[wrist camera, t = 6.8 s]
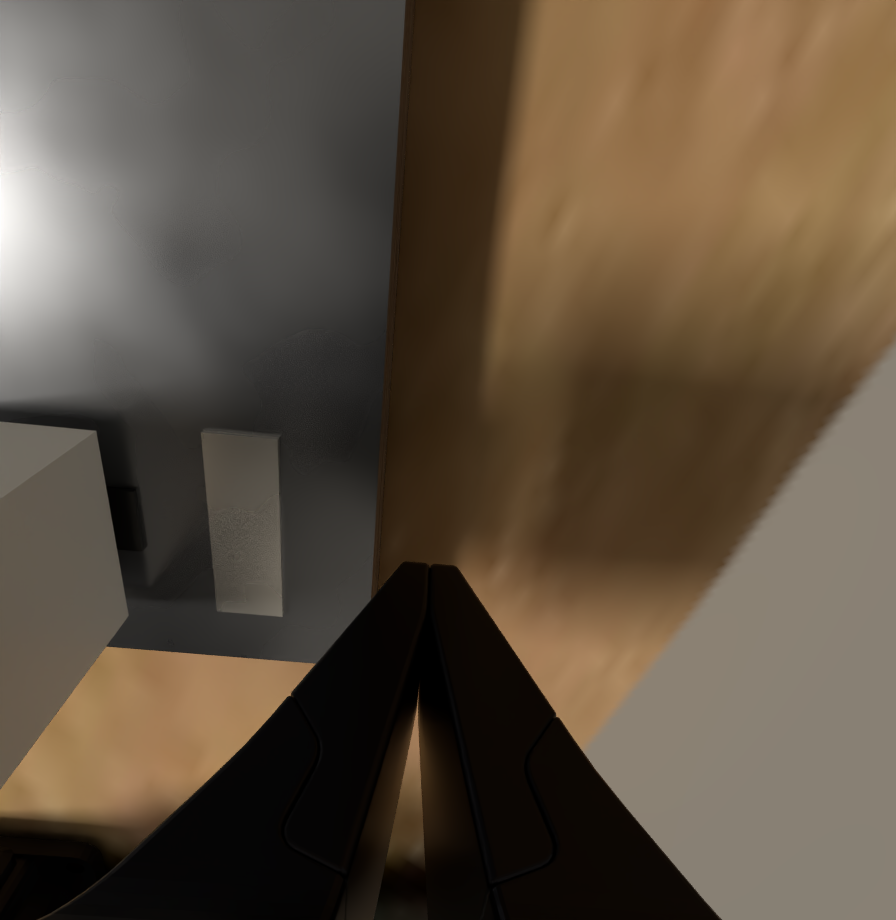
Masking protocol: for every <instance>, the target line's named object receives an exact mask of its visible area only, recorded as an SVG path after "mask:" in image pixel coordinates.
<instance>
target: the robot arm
mask: <svg viewBox="0 0 896 920" xmlns="http://www.w3.org/2000/svg"><path fill="white" fill-rule="evenodd" d="M418 692H419V697H418ZM417 701H418V727H419V747H420V767H421V788H422V808H423V828H424V848H425V868H426V889H427V909H428V920H722V919H721V918H720V917H719V916H718V915H717V914H716V913H715V912H714V911H713V910H712V908H711V907H710V906H709V905H708V904H707V903H706V902H705V901H704V900H703V898H702V897H701V896H700V895H699V894H698V892H697V891H696V890H695V889H694V888H693V887H692V885H691V884H690V883H689V882H688V881H687V879H686V878H685V877H684V876H683V875H682V874H681V873H680V871H679V870H678V869H677V868H676V866H675V865H674V864H673V863H672V862H671V861H670V859H669V858H668V857H667V856H666V854H665V853H664V852H663V851H662V850H661V849H660V847H659V846H658V845H657V844H656V843H655V841H654V840H653V839H652V838H651V837H650V835H649V834H648V833H647V832H646V831H645V830H644V828H643V827H642V826H641V825H640V824H639V823H638V821H637V820H636V819H635V818H634V817H633V815H632V814H631V813H630V812H629V811H628V809H626V807H625V806H624V805H623V803H622V802H621V801H620V800H619V798H618V797H617V796H616V795H615V793H614V792H613V791H612V790H611V788H610V787H609V786H608V785H607V783H606V782H605V781H604V780H603V778H602V777H601V776H600V775H599V773H598V772H597V771H596V770H595V769H594V767H593V765H592V764H591V763H590V761H589V760H588V758H587V757H586V756H585V754H584V753H583V751H582V750H581V749H580V747H579V746H578V744H577V743H576V742H575V740H574V739H573V737H572V736H571V735H570V733H569V732H568V730H567V729H566V727H565V726H564V724H563V723H562V721H561V720H560V718H558V717H556V713H555V711H554V710H553V708H552V707H551V705H550V704H549V702H548V701H547V699H546V698H545V696H544V695H543V693H542V692H541V690H540V689H539V687H538V686H537V684H536V683H535V681H534V680H533V679H532V677H531V676H530V674H529V673H528V671H527V670H526V668H525V667H524V665H523V664H522V662H521V661H520V659H519V658H518V656H517V655H516V653H515V652H514V650H513V649H512V647H511V646H510V644H509V643H508V642H507V640H506V639H505V637H504V636H503V634H502V633H501V631H500V630H499V628H498V627H497V625H496V624H495V622H494V621H493V619H492V618H491V616H490V615H489V613H488V612H487V610H486V609H485V607H484V606H483V605H482V603H481V602H480V600H479V599H478V597H477V596H476V594H475V593H474V591H473V590H472V588H471V587H470V585H469V584H468V582H467V581H466V579H465V578H464V576H463V575H462V573H461V572H460V570H459V569H458V568H457V567H456V566H453V565H442V564H433V565H431V567H429V565H428V564H427V563H419V562H409V561H406V562H403V563H402V564H401V565H400V566H399V567H398V569H397V570H396V571H395V572H394V573H393V575H392V576H391V577H390V578H389V579H388V580H387V582H386V583H385V584H384V585H383V586H382V587H381V589H380V590H379V591H378V592H377V593H376V594H375V596H374V597H373V598H372V599H371V600H370V601H369V603H368V604H367V605H366V606H365V607H364V608H363V610H362V611H361V612H360V613H359V614H358V615H357V617H356V618H355V619H354V620H353V621H352V622H351V624H350V625H349V626H348V627H347V628H346V629H345V631H344V632H343V633H342V634H341V635H340V636H339V638H338V639H337V640H336V641H335V642H334V643H333V645H332V646H331V647H330V648H329V649H328V650H327V652H326V653H325V654H324V655H323V656H322V657H321V659H320V660H319V661H318V662H317V663H316V664H315V666H314V667H313V668H312V669H311V670H310V671H309V673H308V674H307V675H306V676H305V677H304V678H303V680H302V681H301V682H300V683H299V684H298V685H297V687H296V688H295V689H294V690H293V691H292V693H291V696H288V697H287V698H286V699H285V700H284V701H283V703H282V704H281V705H280V706H279V707H278V709H277V710H276V711H275V712H274V713H273V714H272V716H271V717H270V718H269V719H268V720H267V721H266V722H265V723H264V724H263V725H262V727H261V728H260V729H259V730H258V731H257V732H256V733H255V734H254V735H253V736H252V737H251V739H250V740H249V741H248V742H247V743H246V744H245V745H244V746H243V747H242V748H241V749H240V750H239V751H238V752H237V753H236V754H235V755H234V756H233V757H232V758H231V759H230V760H229V761H228V762H227V763H226V764H225V765H224V766H223V767H222V768H220V769H219V770H218V771H217V772H216V773H215V774H214V775H213V776H212V777H211V778H210V779H209V780H208V781H207V782H206V783H205V784H204V785H203V786H202V787H200V788H199V789H198V790H197V791H196V792H195V793H194V794H193V795H192V796H191V797H190V798H189V799H188V800H186V801H185V802H184V803H183V804H182V805H181V806H180V807H179V808H178V809H177V810H176V811H175V812H173V813H172V814H171V815H170V816H169V817H168V818H167V819H166V820H165V821H164V822H163V823H162V824H161V825H159V826H158V827H157V828H156V829H155V830H154V831H153V832H152V833H151V834H150V835H149V836H148V837H147V838H145V839H144V840H143V841H142V842H141V843H140V844H139V845H138V846H137V847H136V848H135V849H134V850H133V851H131V852H130V853H129V854H128V855H127V856H126V857H125V858H124V859H123V860H122V861H121V862H120V863H118V864H117V865H116V866H115V867H114V868H113V869H112V870H111V871H109V872H108V873H107V874H106V870H105V866H104V862H103V858H102V855H101V853H100V851H99V850H98V849H97V848H96V847H94V846H93V845H90V844H88V843H83V842H72V841H57V840H42V839H28V838H13V837H0V920H374V915H375V911H376V906H377V901H378V896H379V891H380V886H381V881H382V876H383V872H384V867H385V862H386V857H387V852H388V847H389V842H390V838H391V833H392V828H393V823H394V818H395V813H396V808H397V803H398V799H399V794H400V789H401V784H402V779H403V774H404V769H405V765H406V760H407V755H408V750H409V745H410V740H411V735H412V730H413V726H414V720H415V715H416V709H417Z"/></svg>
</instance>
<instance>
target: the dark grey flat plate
mask: <svg viewBox="0 0 896 920" xmlns="http://www.w3.org/2000/svg"><path fill="white" fill-rule="evenodd" d="M414 11H415V0H0V422H9V423H20V424H30V425H41V426H51V427H61V428H72V429H82V430H93V431H96V433H97V438H98V444H99V450H100V455H101V461H102V467H103V472H104V478H105V484H106V489H107V495H108V501H109V506H110V512H111V518H112V524H113V529H114V535H115V541H116V546H117V552H118V558H119V563H120V569H121V575H122V580H123V586H124V592H125V597H126V603H127V609H128V614H129V616H128V617H127V619H126V620H125V621H124V623H123V624H122V625H121V627H120V628H119V630H118V631H117V632H116V634H115V635H114V636H113V638H112V639H111V640H110V642H109V643H108V644H107V647H119V648H131V649H144V650H156V651H168V652H181V653H193V654H205V655H218V656H230V657H242V658H254V659H267V660H279V661H291V662H304V663H317V662H318V661H319V660H320V659H321V657H322V656H323V655H324V654H325V653H326V652H327V650H328V649H329V648H330V647H331V646H332V645H333V643H334V642H335V641H336V640H337V639H338V638H339V636H340V635H341V634H342V633H343V632H344V631H345V629H346V628H347V627H348V626H349V625H350V624H351V622H352V621H353V620H354V619H355V618H356V617H357V615H358V614H359V613H360V612H361V611H362V610H363V608H364V607H365V606H366V605H367V604H368V603H369V601H370V600H371V599H372V598H373V597H374V596H375V594H376V593H377V592H378V576H379V560H380V545H381V529H382V513H383V497H384V482H385V466H386V450H387V435H388V419H389V403H390V388H391V372H392V356H393V341H394V325H395V309H396V293H397V278H398V262H399V246H400V231H401V215H402V199H403V184H404V168H405V152H406V136H407V121H408V105H409V89H410V74H411V58H412V42H413V27H414Z"/></svg>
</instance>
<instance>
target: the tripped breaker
mask: <svg viewBox="0 0 896 920" xmlns="http://www.w3.org/2000/svg"><path fill="white" fill-rule="evenodd" d="M128 616H129V614H128V609H127V603H126V597H125V592H124V586H123V580H122V575H121V569H120V563H119V558H118V552H117V546H116V541H115V535H114V529H113V524H112V518H111V512H110V506H109V501H108V495H107V489H106V484H105V478H104V472H103V467H102V461H101V455H100V450H99V444H98V438H97V433H96V431H93V430H82V429H72V428H61V427H51V426H41V425H30V424H20V423H9V422H0V789H1V788H2V786H3V785H4V784H5V782H6V781H7V780H8V778H9V777H10V776H11V774H12V773H13V772H14V770H15V769H16V768H17V766H18V765H19V763H20V762H21V761H22V759H23V758H24V757H25V755H26V754H27V753H28V751H29V750H30V749H31V747H32V746H33V745H34V743H35V742H36V740H37V739H38V738H39V736H40V735H41V734H42V732H43V731H44V730H45V728H46V727H47V726H48V724H49V723H50V722H51V720H52V719H53V717H54V716H55V715H56V713H57V712H58V711H59V709H60V708H61V707H62V705H63V704H64V703H65V701H66V700H67V699H68V697H69V696H70V694H71V693H72V692H73V690H74V689H75V688H76V686H77V685H78V684H79V682H80V681H81V680H82V678H83V677H84V676H85V674H86V673H87V671H88V670H89V669H90V667H91V666H92V665H93V663H94V662H95V661H96V659H97V658H98V657H99V655H100V654H101V653H102V651H103V650H104V648H105V647H106V646H107V644H108V643H109V642H110V640H111V639H112V638H113V636H114V635H115V634H116V632H117V631H118V630H119V628H120V627H121V625H122V624H123V623H124V621H125V620H126V619H127V617H128Z"/></svg>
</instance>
